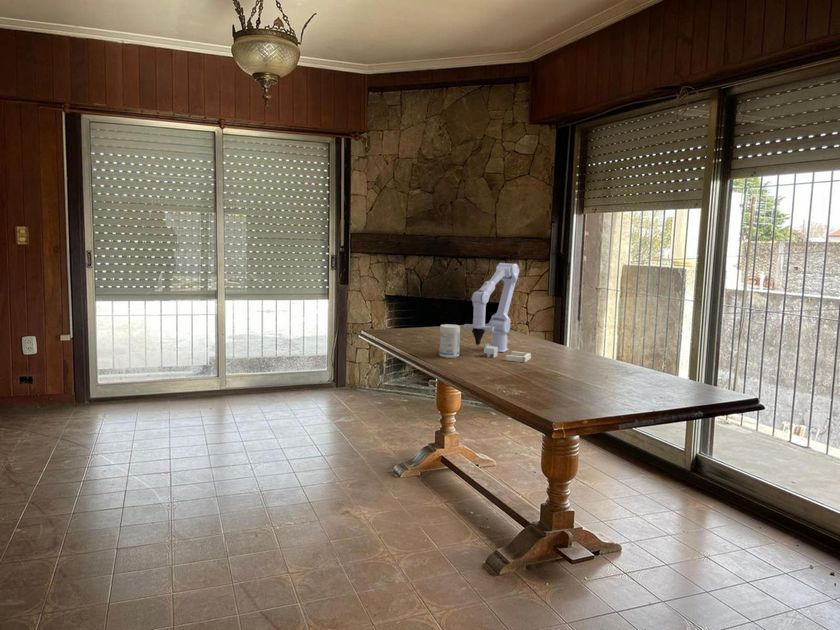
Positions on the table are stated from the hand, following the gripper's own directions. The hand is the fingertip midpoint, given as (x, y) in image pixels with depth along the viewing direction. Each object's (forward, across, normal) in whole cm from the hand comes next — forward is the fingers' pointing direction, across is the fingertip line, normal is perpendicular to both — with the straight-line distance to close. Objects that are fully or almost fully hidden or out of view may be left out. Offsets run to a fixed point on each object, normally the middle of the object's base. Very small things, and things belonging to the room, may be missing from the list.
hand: (477, 344), depth 306 cm
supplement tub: (+5, -10, -11) cm, 16 cm away
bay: (+5, +20, 0) cm, 20 cm away
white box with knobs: (+5, +7, 0) cm, 8 cm away
